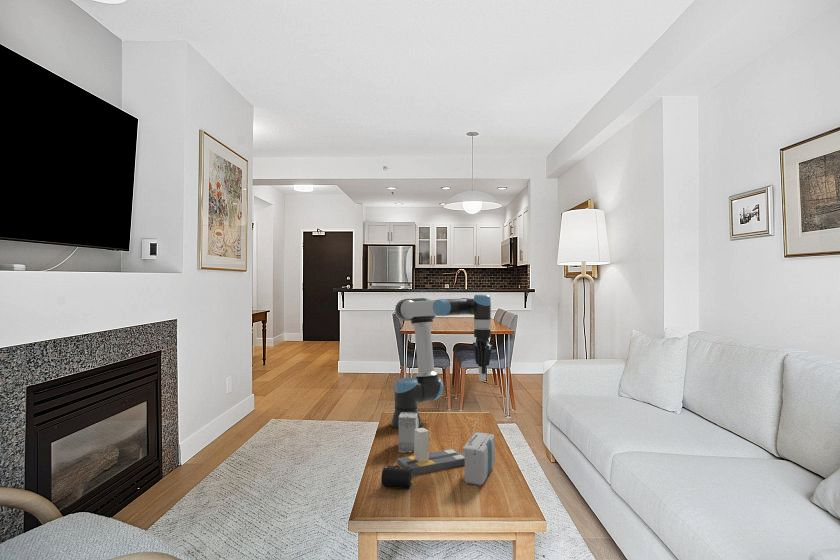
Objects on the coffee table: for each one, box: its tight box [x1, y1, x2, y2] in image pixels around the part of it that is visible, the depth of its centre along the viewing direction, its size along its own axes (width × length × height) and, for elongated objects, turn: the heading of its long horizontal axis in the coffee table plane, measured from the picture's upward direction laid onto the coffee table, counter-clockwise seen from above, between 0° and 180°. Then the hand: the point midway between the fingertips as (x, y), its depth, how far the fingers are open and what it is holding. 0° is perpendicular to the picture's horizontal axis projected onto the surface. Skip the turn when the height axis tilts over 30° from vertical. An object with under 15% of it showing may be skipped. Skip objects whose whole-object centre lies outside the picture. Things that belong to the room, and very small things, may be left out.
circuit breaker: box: [397, 412, 420, 453], centre depth 214 cm, size 8×14×15 cm, turn 174°
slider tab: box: [413, 427, 430, 463], centre depth 191 cm, size 5×4×12 cm
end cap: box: [380, 465, 413, 490], centre depth 172 cm, size 10×7×7 cm
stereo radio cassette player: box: [461, 415, 496, 487], centre depth 183 cm, size 21×8×20 cm, turn 160°
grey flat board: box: [396, 448, 465, 476], centre depth 193 cm, size 12×26×3 cm, turn 116°
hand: (482, 380), depth 219 cm, fingers closed
